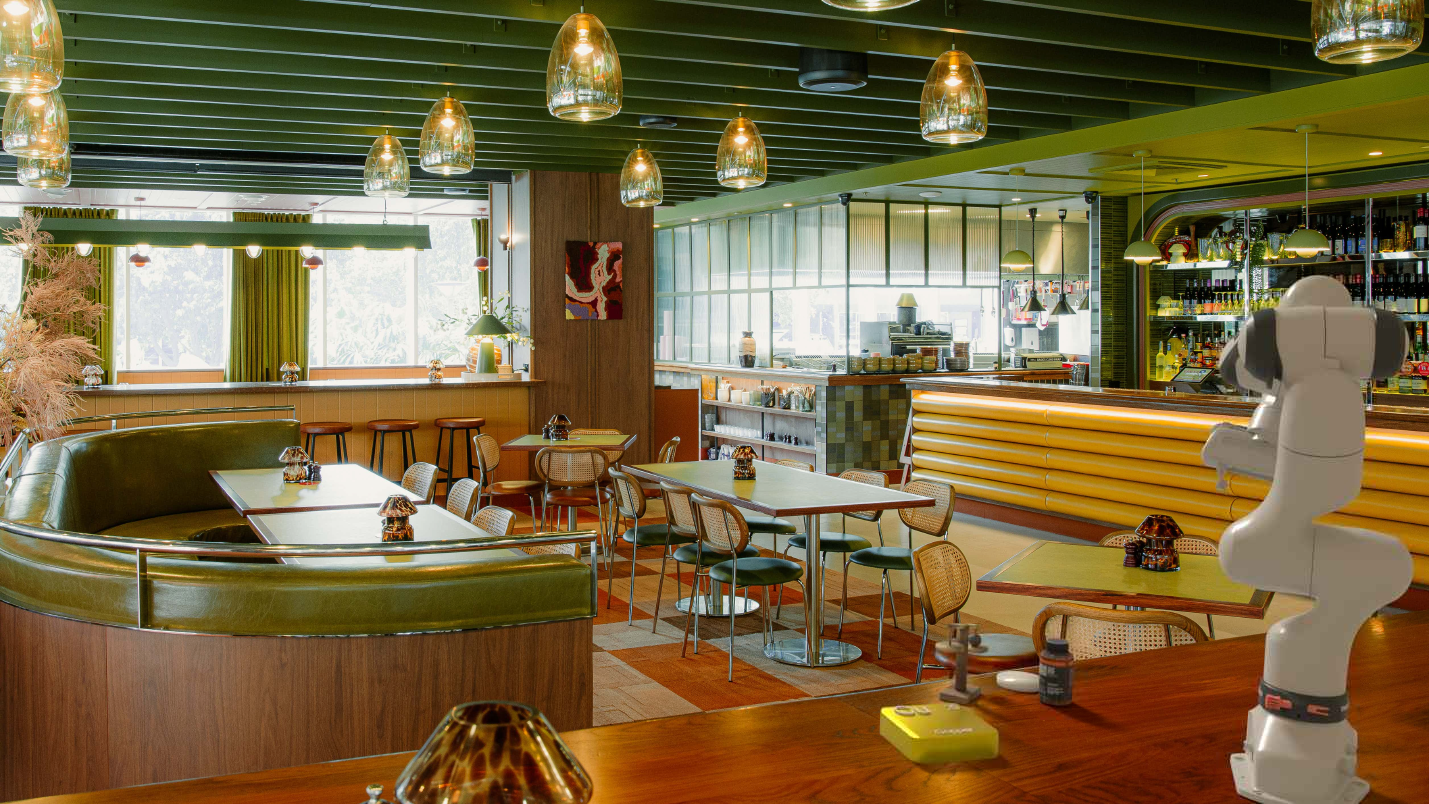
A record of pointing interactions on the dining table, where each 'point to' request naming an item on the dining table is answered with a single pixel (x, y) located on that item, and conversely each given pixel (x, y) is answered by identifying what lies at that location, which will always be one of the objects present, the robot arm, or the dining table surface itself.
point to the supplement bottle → (1056, 673)
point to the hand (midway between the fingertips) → (1246, 497)
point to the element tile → (938, 733)
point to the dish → (1018, 681)
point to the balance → (962, 662)
